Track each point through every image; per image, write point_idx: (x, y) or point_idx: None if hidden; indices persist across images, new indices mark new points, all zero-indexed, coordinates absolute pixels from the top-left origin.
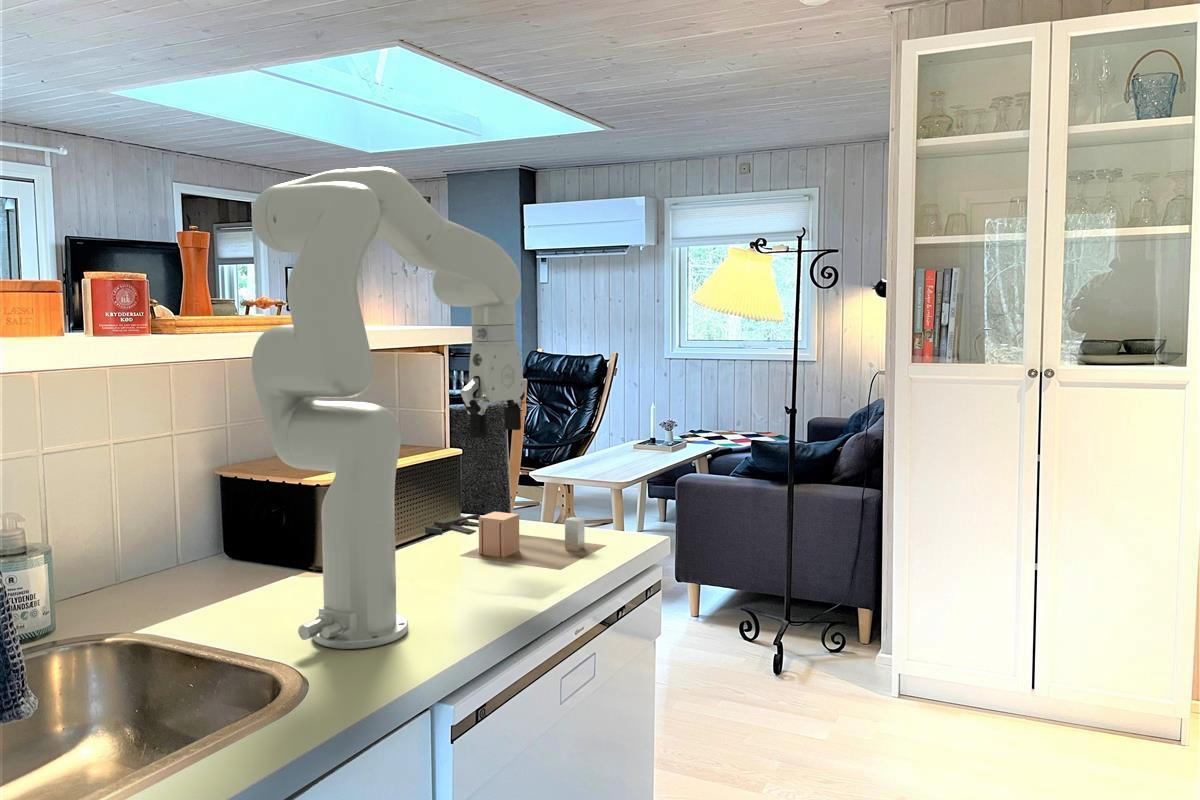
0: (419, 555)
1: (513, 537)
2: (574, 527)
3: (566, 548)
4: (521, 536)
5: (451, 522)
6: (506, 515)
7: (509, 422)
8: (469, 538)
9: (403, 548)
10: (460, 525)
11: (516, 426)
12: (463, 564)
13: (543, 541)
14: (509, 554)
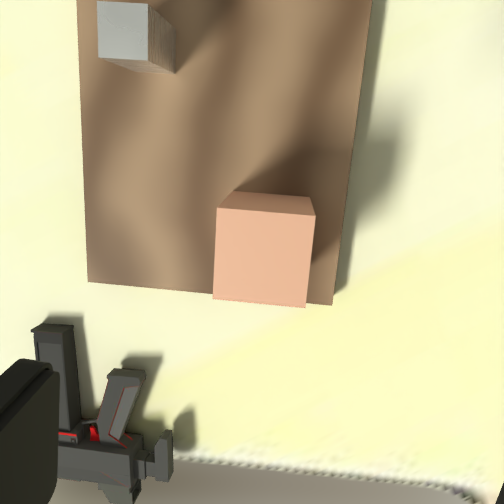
0: (296, 408)
1: (259, 199)
2: (155, 24)
3: (174, 68)
4: (103, 249)
5: (95, 448)
6: (248, 238)
7: (24, 493)
8: None
9: (257, 462)
10: (78, 429)
11: (44, 398)
12: None
13: (122, 172)
14: (282, 195)
